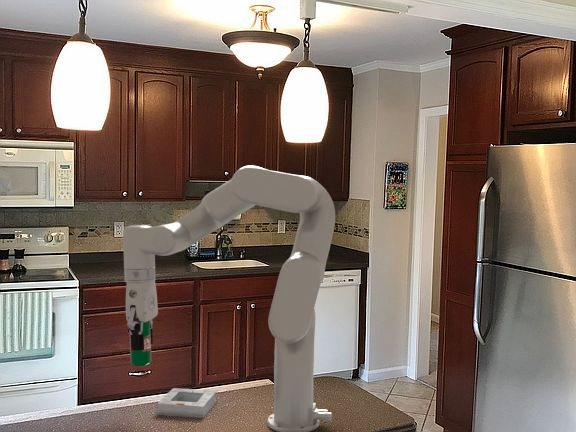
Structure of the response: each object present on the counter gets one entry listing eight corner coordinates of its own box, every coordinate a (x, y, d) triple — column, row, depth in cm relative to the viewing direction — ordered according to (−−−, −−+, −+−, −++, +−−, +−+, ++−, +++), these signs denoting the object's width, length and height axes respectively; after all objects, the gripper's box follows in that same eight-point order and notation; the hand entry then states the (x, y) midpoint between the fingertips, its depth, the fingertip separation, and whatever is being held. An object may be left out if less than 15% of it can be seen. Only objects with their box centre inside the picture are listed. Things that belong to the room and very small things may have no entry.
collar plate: (216, 401, 167) (216, 389, 167) (203, 418, 155) (203, 405, 155) (173, 399, 169) (173, 387, 168) (157, 415, 157) (157, 402, 157)
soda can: (146, 367, 154) (144, 318, 153) (127, 366, 155) (125, 318, 154) (154, 361, 159) (153, 314, 158) (136, 360, 160) (134, 314, 159)
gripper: (141, 280, 147) (143, 356, 148) (166, 270, 164) (168, 339, 164) (111, 280, 148) (113, 356, 149) (138, 270, 165) (141, 338, 165)
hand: (142, 346), depth 156 cm, fingers closed on soda can, 5 cm apart
